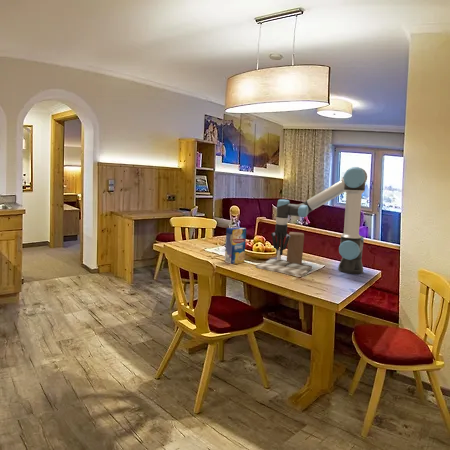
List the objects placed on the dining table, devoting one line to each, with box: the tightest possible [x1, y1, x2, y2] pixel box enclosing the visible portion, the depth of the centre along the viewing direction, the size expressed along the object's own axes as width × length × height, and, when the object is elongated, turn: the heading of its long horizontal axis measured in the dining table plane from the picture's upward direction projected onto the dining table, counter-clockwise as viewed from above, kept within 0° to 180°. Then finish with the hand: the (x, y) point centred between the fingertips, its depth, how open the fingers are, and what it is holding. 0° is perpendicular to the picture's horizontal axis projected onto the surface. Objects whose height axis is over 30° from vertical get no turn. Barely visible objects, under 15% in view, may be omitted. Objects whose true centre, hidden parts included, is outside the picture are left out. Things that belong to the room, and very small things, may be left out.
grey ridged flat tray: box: [255, 262, 309, 277], centre depth 245 cm, size 30×10×2 cm, turn 59°
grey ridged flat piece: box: [264, 257, 290, 267], centre depth 257 cm, size 13×9×2 cm
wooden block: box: [286, 231, 305, 265], centre depth 266 cm, size 10×10×20 cm
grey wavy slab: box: [286, 263, 313, 272], centre depth 250 cm, size 13×9×2 cm
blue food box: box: [224, 226, 247, 265], centre depth 259 cm, size 7×11×22 cm, turn 128°
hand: (278, 259), depth 260 cm, fingers closed
